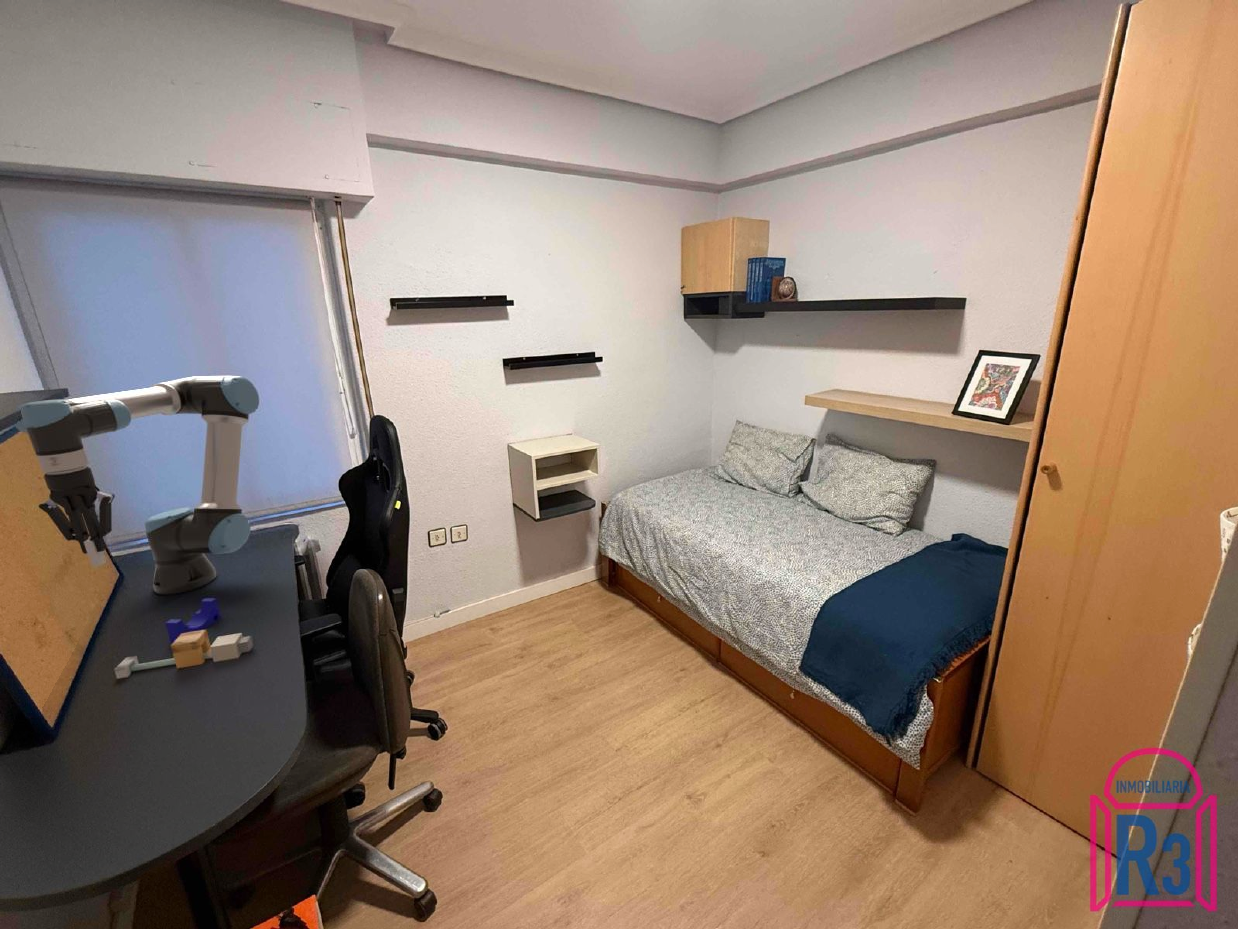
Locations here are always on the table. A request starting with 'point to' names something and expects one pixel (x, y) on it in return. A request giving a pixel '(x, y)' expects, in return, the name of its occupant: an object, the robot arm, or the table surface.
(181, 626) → the cable clip
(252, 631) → the table surface
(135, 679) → the table surface
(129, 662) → the cord run
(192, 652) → the sleeve
